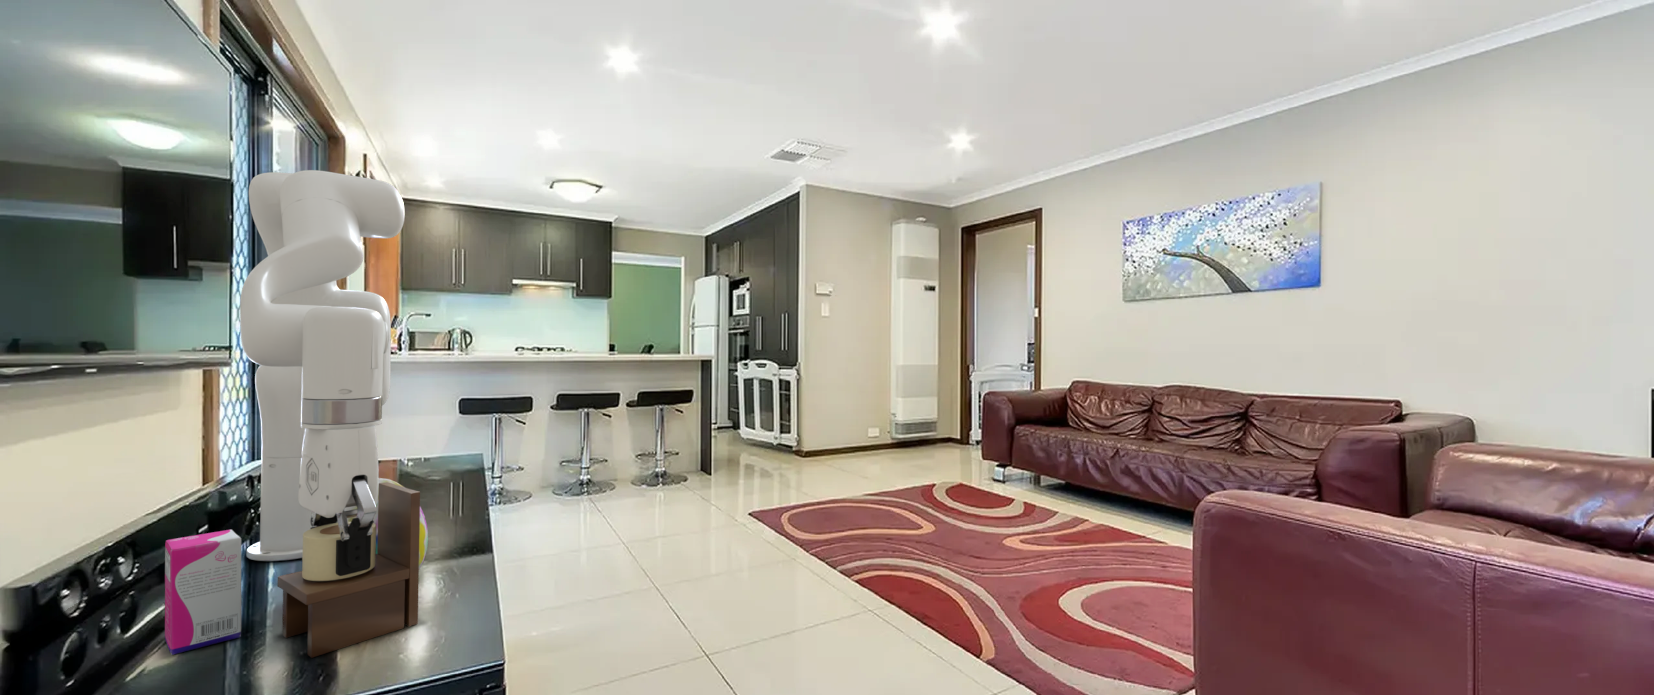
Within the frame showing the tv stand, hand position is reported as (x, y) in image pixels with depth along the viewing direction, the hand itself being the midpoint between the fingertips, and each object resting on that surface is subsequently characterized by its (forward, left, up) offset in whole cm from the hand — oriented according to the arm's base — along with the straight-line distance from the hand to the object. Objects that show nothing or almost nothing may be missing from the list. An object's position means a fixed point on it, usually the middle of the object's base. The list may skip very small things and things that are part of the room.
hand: (339, 563), depth 74 cm
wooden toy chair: (0, 0, -8) cm, 8 cm away
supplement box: (-10, -10, -8) cm, 16 cm away
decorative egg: (-12, +8, -8) cm, 17 cm away
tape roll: (0, 0, -1) cm, 1 cm away
